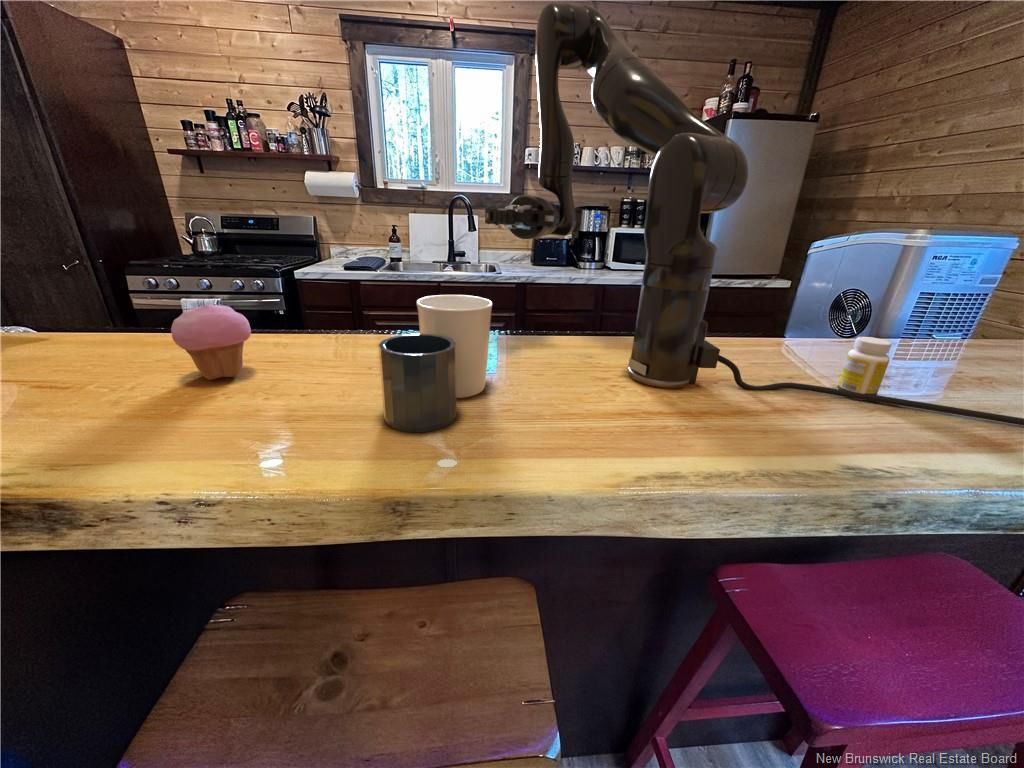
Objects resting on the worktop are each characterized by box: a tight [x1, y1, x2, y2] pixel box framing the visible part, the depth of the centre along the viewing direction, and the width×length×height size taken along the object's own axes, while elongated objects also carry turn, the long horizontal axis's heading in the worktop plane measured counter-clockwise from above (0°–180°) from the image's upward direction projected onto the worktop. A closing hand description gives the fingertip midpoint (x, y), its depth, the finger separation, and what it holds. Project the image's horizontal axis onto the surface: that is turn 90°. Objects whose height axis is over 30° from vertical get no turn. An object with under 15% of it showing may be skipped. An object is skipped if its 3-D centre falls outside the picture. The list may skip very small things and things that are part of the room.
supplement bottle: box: [836, 336, 893, 401], centre depth 63 cm, size 5×5×8 cm
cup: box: [378, 333, 458, 433], centre depth 51 cm, size 8×8×9 cm
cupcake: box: [170, 304, 252, 381], centre depth 59 cm, size 9×9×10 cm
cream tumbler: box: [416, 294, 494, 399], centre depth 59 cm, size 10×10×12 cm
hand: (501, 216), depth 67 cm, fingers closed
